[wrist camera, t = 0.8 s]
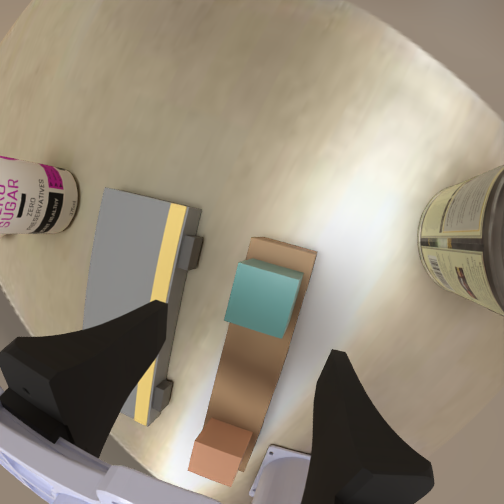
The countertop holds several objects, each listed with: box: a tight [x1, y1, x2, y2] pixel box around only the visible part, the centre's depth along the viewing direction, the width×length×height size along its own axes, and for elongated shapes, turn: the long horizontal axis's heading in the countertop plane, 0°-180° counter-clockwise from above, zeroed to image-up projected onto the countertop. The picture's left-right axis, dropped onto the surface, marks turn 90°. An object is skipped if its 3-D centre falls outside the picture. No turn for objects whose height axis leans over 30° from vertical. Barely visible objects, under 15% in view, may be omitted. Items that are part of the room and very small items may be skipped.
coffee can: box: [418, 165, 504, 316], centre depth 18 cm, size 10×10×14 cm
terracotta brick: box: [188, 418, 253, 487], centre depth 24 cm, size 4×4×4 cm
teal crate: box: [224, 258, 304, 339], centre depth 22 cm, size 4×4×4 cm
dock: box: [83, 187, 203, 426], centre depth 31 cm, size 24×11×3 cm, turn 165°
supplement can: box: [0, 156, 78, 234], centre depth 28 cm, size 8×8×15 cm
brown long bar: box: [203, 237, 317, 472], centre depth 27 cm, size 22×5×5 cm, turn 165°
